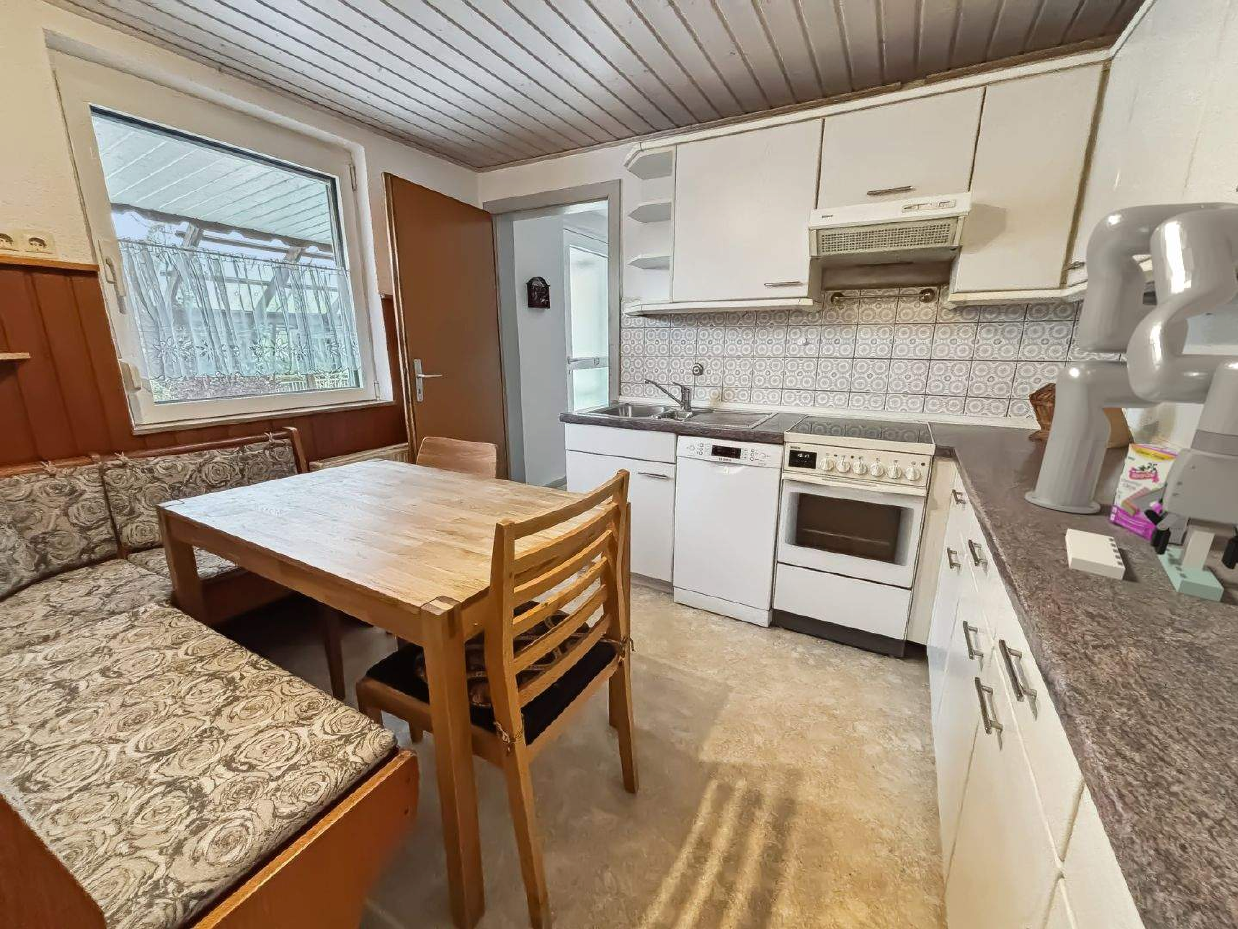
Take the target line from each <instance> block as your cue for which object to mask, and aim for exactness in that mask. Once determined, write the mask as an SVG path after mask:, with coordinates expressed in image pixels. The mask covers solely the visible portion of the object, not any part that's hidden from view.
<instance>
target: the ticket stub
mask: <svg viewBox="0 0 1238 929" xmlns="http://www.w3.org/2000/svg"><path fill="white" fill-rule="evenodd" d="M1215 535H1216V534H1215V532H1214V531H1213V530H1212V529H1211V528H1210V527H1206V526H1200V525H1194V524H1189V525H1188V529H1187V531H1186V534H1185V537H1184V538H1185V539H1184V540H1183V543H1182V546H1181V548H1178V547H1177V548H1176V547H1172V546H1167V548H1166V551H1165V554H1164V555H1163V554H1162V555H1158V554H1157V558H1158V560H1159V562H1160V563H1161V565H1162V567H1163V569H1164V570H1165V572H1166V574H1167V575H1168V578H1169V579H1170V582H1171V583H1172V585H1173V587H1174V588H1175V591H1176V592H1177V593H1180V594H1182V595H1183V594H1184V595H1187V596H1191V597H1197V598H1200V599H1204V600H1209V601H1214V602H1218V603H1219V602H1221V599H1222V595H1223V593H1224V590H1225V589H1224V587H1223V586H1222V584H1221V583H1220V581H1218V579H1217V577H1216V576H1215V575H1214V574H1213V573H1212V571H1211V570H1210V568H1209V567H1208V566H1207V565H1206V564H1207V563H1205V562H1206V561H1207V560H1206V559H1207V558H1208V554H1209V552H1210V549H1211V547H1212V543H1213V540H1214V537H1215Z"/></svg>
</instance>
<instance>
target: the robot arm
mask: <svg viewBox="0 0 1238 929" xmlns="http://www.w3.org/2000/svg"><path fill="white" fill-rule="evenodd" d="M1086 245H1087V246H1086V251H1085V252H1086V253H1085V265H1086V274H1087V275H1086V276H1087V286H1086V290H1085V294H1084V299H1083V303H1082V307H1081V312H1080V316H1079V322H1078V324H1077V325H1078V326H1077V330H1076V335H1075V336H1076V337H1075V342H1076V345H1077V347H1078V350H1081V351H1082V352H1086V353H1091V354H1092V353H1093V354H1114V355H1116V354H1117V355H1119V354H1120V355H1125V356H1126V360H1117V359H1116V360H1111V359H1110V360H1106V359H1105V360H1104V359H1091V360H1088V359H1087V360H1078V361H1075V362H1071V363H1070V364H1067V365H1066V366H1064V367H1063V368H1062V369H1061V370H1060V371H1059V373H1058V374H1057V377H1056V379H1055V380H1056V382H1055V396H1054V397H1055V401H1054V411H1053V416H1052V420H1051V421H1052V422H1051V425H1050V429H1049V434H1048V438H1047V442H1046V447H1045V450H1044V454H1043V459H1042V462H1041V467H1040V471H1039V475H1038V478H1037V482H1036V487H1035V490H1031V491H1027V492H1026V493H1025V495H1024V499H1025V500H1026V501H1028V502H1029V503H1031V504H1033V505H1034V504H1035V505H1036V506H1040V507H1043V508H1047V509H1051V510H1056V511H1060V512H1066V513H1074V514H1097V513H1099V512H1100V510H1101V505H1100V503H1097V502H1095V501H1094V500H1093V497H1094V494H1095V490H1096V486H1097V484H1098V480H1099V476H1100V473H1101V470H1102V466H1103V462H1104V459H1105V455H1106V452H1107V448H1108V445H1109V442H1110V437H1111V434H1112V425H1111V422H1110V420H1109V418H1108V417H1107V415H1106V413H1105V412H1104V409H1103V408H1116V409H1117V408H1121V409H1149V408H1154V407H1158V406H1159V405H1161V404H1163V403H1168V404H1169V403H1170V404H1172V403H1175V404H1197V405H1203V408H1202V410H1201V414H1200V416H1199V420H1198V423H1197V426H1196V430H1195V433H1194V436H1193V438H1192V442H1191V444H1190V447H1189V448H1188V447H1187V448H1181V449H1180V450H1179V451H1180V452H1179V453H1178V455H1177V457H1176V458H1175V460H1174V462H1173V464H1172V466H1171V468H1170V470H1169V472H1168V474H1167V476H1166V479H1165V481H1164V484H1163V486H1162V488H1159V489H1157V490H1154V491H1152V492H1149V493H1147V494H1144V495H1141V496H1139V497H1136V498H1134V500H1133V501H1134V503H1135V504H1136V505H1137V507H1138V508H1139V509H1140V510H1141V511H1142V512H1143V513H1144V514H1145V515H1146V517H1147V518H1148V519H1149V520H1150V521H1151V522H1152V523H1153V524H1154V525H1155V526H1156V527H1155V530H1154V533H1153V536H1152V539H1151V541H1150V542H1149V544H1150V547H1152V548H1154V551H1155V553H1156V555H1157V556H1158V555H1162V554H1163V555H1164V554H1165V551H1166V548H1167V547H1168V544H1169V543H1168V542H1169V539H1170V536H1171V532H1170V530H1169V529H1170V526H1171V525H1172V524H1173V523H1175V522H1176V521H1177V520H1178V519H1179V518H1181V517H1188V518H1190V519H1195V520H1200V521H1207V522H1211V523H1212V522H1213V523H1219V524H1224V525H1225V524H1226V525H1231V526H1232V528H1233V531H1234V533H1235V535H1233V537H1231V538H1229V539H1228V542H1227V544H1226V547H1225V548H1224V551H1223V554H1222V557H1221V560H1220V562H1221V563H1222V564H1223V565H1224V566H1225V568H1227V569H1229V570H1235V568H1236V565H1237V564H1238V355H1237V354H1236V355H1235V354H1232V355H1230V354H1208V353H1207V354H1205V353H1204V354H1202V353H1201V354H1200V353H1199V354H1197V353H1196V354H1195V353H1183V352H1184V349H1185V344H1186V342H1187V338H1188V335H1189V334H1188V333H1189V320H1188V319H1191V318H1194V317H1196V316H1199V315H1200V316H1201V315H1203V314H1206V313H1209V312H1211V311H1214V310H1216V309H1218V308H1220V307H1222V306H1225V305H1226V304H1228V303H1229V302H1230V301H1231V300H1233V299H1234V298H1236V295H1237V294H1238V278H1237V271H1236V269H1235V268H1236V267H1235V265H1237V264H1238V203H1232V202H1223V201H1222V202H1218V201H1216V202H1215V201H1214V202H1191V203H1190V202H1189V203H1188V202H1187V203H1168V204H1165V203H1164V204H1163V203H1161V204H1147V205H1137V206H1130V207H1129V206H1128V207H1126V208H1124V207H1123V208H1120V209H1117V210H1114V211H1113V212H1110V213H1109V214H1106V215H1105V216H1104V217H1103V218H1101V219H1100V221H1099V222H1098V223H1097V224H1096V225H1095V227H1094V228H1093V230H1092V232H1091V234H1090V236H1089V239H1088V242H1087V244H1086ZM1140 255H1141V256H1145V255H1146V256H1147V255H1148V256H1149V255H1150V259H1151V266H1152V275H1153V281H1154V291H1155V297H1156V304H1154V305H1153V304H1152V305H1151V304H1150V305H1149V304H1148V305H1147V304H1144V303H1143V301H1144V300H1143V299H1144V293H1145V290H1146V287H1147V276H1146V274H1145V271H1144V270H1143V267H1142V266H1141V265H1140V263H1139V262H1138V261H1137V260H1136V259H1135V258H1134V256H1140ZM1157 500H1158V503H1159V504H1160V505H1161V506H1162V508H1163V510H1164V512H1163V513H1161V514H1160V515H1158V514H1157V513H1156V512H1155V511H1154V510H1153V509H1152V508H1151V506H1150V503H1152V502H1154V501H1157Z"/></svg>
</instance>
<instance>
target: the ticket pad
mask: <svg viewBox="0 0 1238 929" xmlns="http://www.w3.org/2000/svg"><path fill="white" fill-rule="evenodd" d="M1065 534H1066V535H1065V545H1066V552H1067V554H1066V555H1067V560H1068V566H1069V569H1072V570H1076V571H1081V572H1085V573H1089V574H1094V575H1095V574H1096V575H1100V576H1102V577H1103V576H1104V577H1107V578H1110V579H1111V578H1113V579H1116V580H1121V581H1122V580H1123V577H1124V574H1125V571H1126V567H1125V564H1124V562H1123V559H1122V557H1121V554H1120V552H1119V549H1118V546H1117V544H1116V541H1115V538H1114V537H1113V536H1108V535H1103V534H1100V533H1095V532H1094V533H1093V532H1087V531H1083V530H1079V529H1072V528H1067V531H1066V532H1065Z"/></svg>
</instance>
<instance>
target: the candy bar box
mask: <svg viewBox="0 0 1238 929" xmlns="http://www.w3.org/2000/svg"><path fill="white" fill-rule="evenodd" d="M1180 451H1181V450H1180V449H1175V448H1171V447H1167V446H1165V445H1161V444H1151V443H1137V442H1136V443H1129V445H1128V449H1127V452H1126V455H1125V459H1124V462H1123V466H1122V469H1121V473H1120V476H1119V480H1118V484H1117V486H1116V490H1115V494H1114V497H1113V501H1112V504H1111V508H1110V512H1109V513H1108V514H1109V515H1108V517H1107V521H1108V522H1110V523H1112V524H1114V525H1116V526H1118V527H1119V528H1120V527H1121V528H1122V529H1125V530H1126V531H1128V532H1131V533H1133V534H1134V535H1137V536H1139V537H1141V538H1143V539H1145V540H1147V541H1150V542H1151V539H1152V536H1153V533H1154V530H1155V527H1156V526H1155V525H1154V524H1153V523H1152V522H1151V521H1150V520H1149V519H1148V518H1147V517H1146V515H1145V514H1144V513H1143V512H1142V511H1141V510H1140V509H1139V508H1138V507H1137V505H1136V504H1135V503H1134V501H1133V500H1134V498H1136V497H1139V496H1141V495H1144V494H1147V493H1149V492H1152V491H1154V490H1157V489H1159V488H1162V486H1163V484H1164V481H1165V479H1166V476H1167V474H1168V472H1169V470H1170V468H1171V466H1172V464H1173V462H1174V460H1175V458H1176V457H1177V455H1178V453H1179V452H1180ZM1150 506H1151V508H1152V509H1153V510H1154V511H1155V512H1156V513H1157V514H1158V515H1160V514H1161V513H1163V512H1164V510H1163V508H1162V506H1161V505H1160V504H1159V503H1158V500H1157V501H1154V502H1152V503H1150ZM1190 520H1191V518H1188V517H1181V518H1179V519H1178V520H1177V521H1176V522H1175V523H1173V524H1172V525H1171V526H1170V529H1169V530H1170V532H1171V536H1170V539H1169V542H1168V544H1174V545H1175V544H1176V545H1183V542H1184V538H1185V536H1186V533H1187V531H1188V529H1187V528H1188V527H1189V524H1190Z"/></svg>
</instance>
